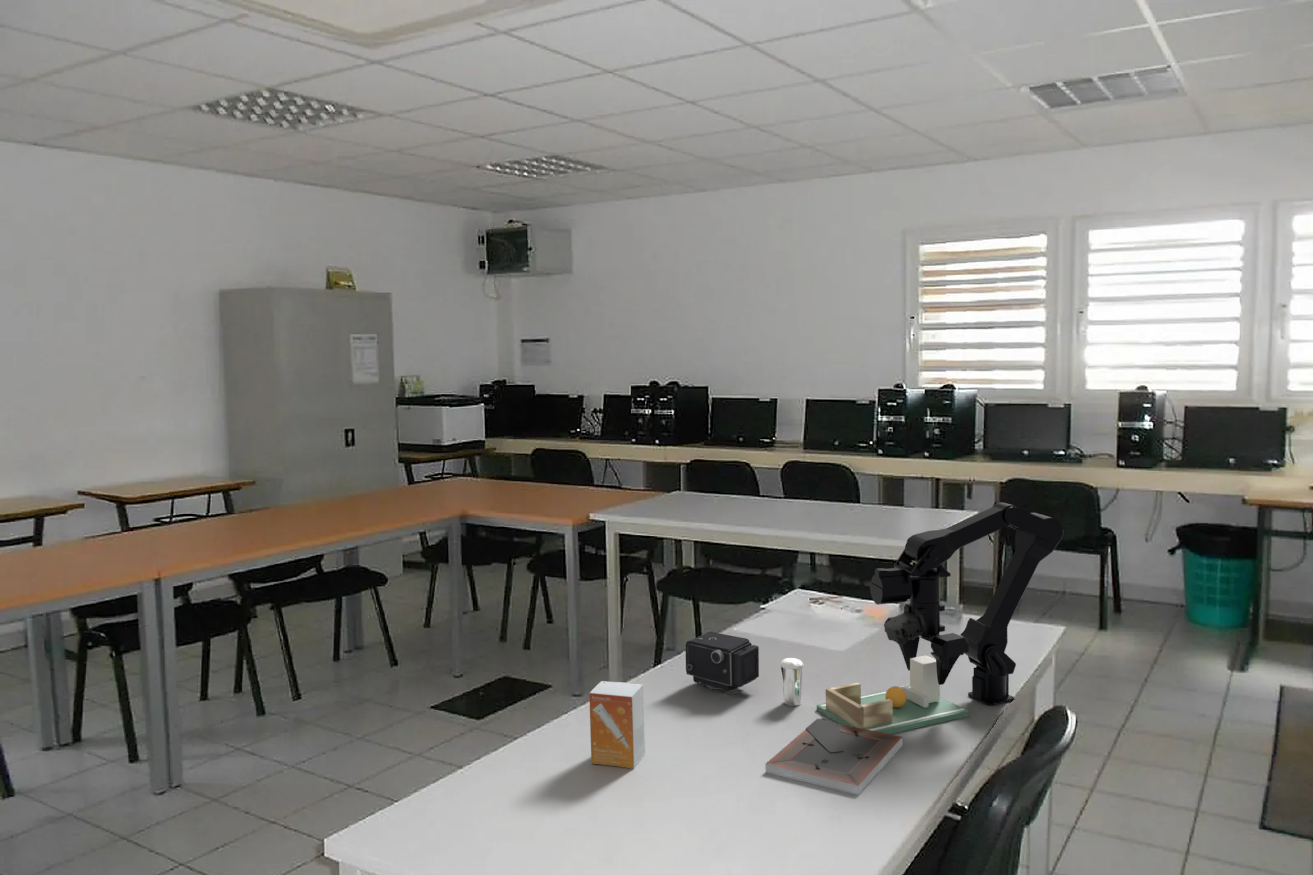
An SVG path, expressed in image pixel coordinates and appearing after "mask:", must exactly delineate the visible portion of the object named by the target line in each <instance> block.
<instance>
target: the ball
mask: <svg viewBox="0 0 1313 875" xmlns="http://www.w3.org/2000/svg"><path fill="white" fill-rule="evenodd" d="M885 698H886V700H887V699H890V700H892V704H893V707H895V708H898V707H901V706H903V705H904V704H905V702H906V699H907V697H906V693H905V691H904V690H903V689H902V688H901V687H900V686H890V687H889V688H888V689H887V692H886V695H885Z"/></svg>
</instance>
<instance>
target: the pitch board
mask: <svg viewBox="0 0 1313 875" xmlns="http://www.w3.org/2000/svg"><path fill="white" fill-rule="evenodd" d="M906 686H907V687H910V685H906ZM887 690H888V689H887ZM887 690H882V691H878V692H877V691H876V692H874V693H873V692H872V693H867V694H863V695H862V694H861V704H859V705H864V704H868V703H873V702H878V701H882V700H886V698H885V695H886V692H887ZM928 704H929V707H926V708H924V707H922V706H920V705H918V704H916V703H914V702H912V701H910V700H908V699H906V702H905V704H904V705H903V706H901V707H898V708H895V707H893V722H888V723H884V724H879V725H875V726H870V727H866V728H862V729H867V730H872V731H877V732H881V733H886V734H891V735H893V734H895V733H900V732H904V731H909V730H912V729H917V728H922V727H927V726H931V725H935V724H939V723H944V722H949V721H952V720H956V719H957V720H958V719H960V718H966V717H969V716H970V710H969V709H966V708H964V707H963V706H961V705H958V704H956V703H954V702H952V701H950V700H948V699H946V698H944V697H942V696H940V701H936V702H932V703H928ZM816 711H817V712H819V713H821V714H822V715H824V716H826V717H827V718H829V719H830V720H832V721H833V722H836V723H839V724H842V725H847V726H852V727H855V726H853V725H852V724H850V723H849V722H847V721H845V720H844V719H842V718H840V717H839V716H837V715H835V714H834V713H832V712H830V711H829V710H827V709H826V702H824V703H820V704H816Z"/></svg>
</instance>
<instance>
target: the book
mask: <svg viewBox="0 0 1313 875" xmlns="http://www.w3.org/2000/svg"><path fill="white" fill-rule="evenodd" d="M903 745H904V743H903V736H902V735H901V736H900V735H895V734H886V733H881V732H877V731H872V730H867V729H862V728H857V727H852V726H847V725H842V724H839V723H837V722H836V721H831V720H825V719H821V718H816V719H815V720H814V721H813V722H811V724H809V725H807V727H805V729H804V730H803V731H802V732H801V733H800V734H798V735H797V736H795V738H794V739H793V740H791V741H790V742H789V743H787V745H786V746H784V747H783V748H782V749H781V750H780V751H779V752H777V754H774V756H773V757H771V758H770V759H769V760H768V761H767V762H766V763H765V773H768V774H771V775H776V776H779V777H784V778H788V779H792V780H796V781H800V782H804V783H808V784H813V785H816V786H821V787H823V788H824V787H825V788H829V789H832V790H833V789H834V790H837V791H841V792H845V793H849V794H853V795H860V794H861V793H862V792H863V790H864V789H865V788H866V787H867V786H868V785H869V783H870V782H872V781H873V779H874V778H875V777H876V776H877V775H878V774H879V772H880V771H881V770H882V769H883V768H884V767H885V766H886V765H887V763H888V762H889V761H890V760H891V759H892V758H893V756H894V755H896V753H897V752H898V751H899V750H900V749H901V748H902V746H903Z"/></svg>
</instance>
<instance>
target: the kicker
mask: <svg viewBox="0 0 1313 875" xmlns="http://www.w3.org/2000/svg"><path fill="white" fill-rule="evenodd" d="M907 686H908V685H901V687H900V688H902V689H903V690H904V691H905V693H906V697H907V699H908V700H910V701H912V702H914V703H916V704H918V705H920V706H922V707H924V708H926V707H929V704H928V703H932V702H936V701H940V697H941V694H940V693H941V688H940V687H941V685H939V684H938V679H937V667H936V659H935V658H934V657H931V656H929V655H921V656H916V657H915V658H910V671H909V686H910V687H907Z"/></svg>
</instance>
